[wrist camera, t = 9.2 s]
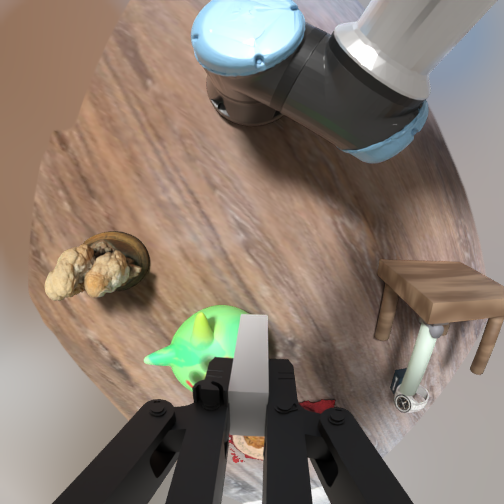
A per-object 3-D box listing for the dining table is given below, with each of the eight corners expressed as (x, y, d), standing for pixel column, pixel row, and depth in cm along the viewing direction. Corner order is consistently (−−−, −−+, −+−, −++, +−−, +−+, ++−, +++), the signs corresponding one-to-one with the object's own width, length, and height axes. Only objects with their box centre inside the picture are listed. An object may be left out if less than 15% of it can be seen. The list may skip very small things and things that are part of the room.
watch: (387, 371, 56) (404, 402, 46) (417, 366, 56) (436, 394, 45) (382, 389, 58) (397, 420, 47) (411, 384, 57) (429, 412, 47)
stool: (379, 259, 50) (433, 303, 31) (459, 261, 50) (521, 296, 30) (366, 331, 54) (403, 394, 35) (444, 326, 53) (492, 375, 34)
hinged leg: (417, 312, 36) (431, 326, 32) (433, 311, 36) (448, 324, 32) (395, 383, 39) (404, 400, 35) (410, 381, 39) (420, 397, 35)
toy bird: (222, 379, 58) (212, 429, 44) (160, 330, 56) (133, 372, 41) (284, 329, 54) (290, 377, 40) (218, 270, 52) (202, 305, 38)
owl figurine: (86, 295, 55) (39, 331, 38) (69, 242, 52) (14, 265, 35) (157, 283, 53) (118, 325, 37) (140, 222, 50) (91, 243, 34)
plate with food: (218, 402, 61) (216, 413, 58) (334, 396, 59) (336, 406, 55) (234, 458, 67) (232, 467, 64) (327, 453, 65) (329, 462, 62)
